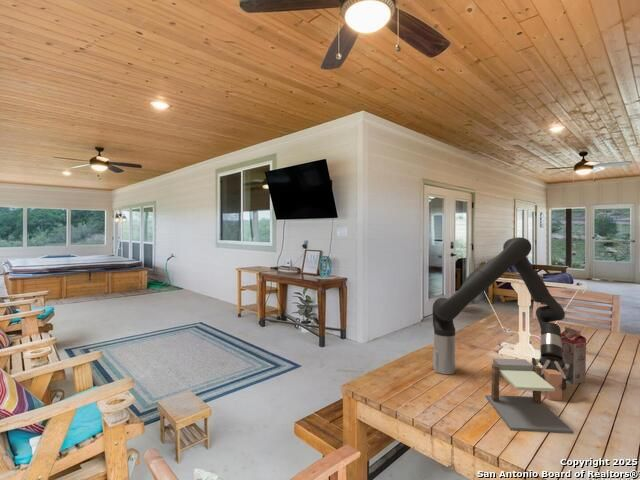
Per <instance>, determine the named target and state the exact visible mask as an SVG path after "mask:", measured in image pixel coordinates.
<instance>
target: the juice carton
mask: <svg viewBox="0 0 640 480" xmlns="http://www.w3.org/2000/svg"><path fill="white" fill-rule="evenodd" d="M561 341H562V350H563V361H564V363H565V364H569V365H570V364H572V365H573V373H572V379H571V381H567V382H569V383H571V384H581V383H586V369H587V367H586V366H587V361H586V360H587V338H586V337H584V336H583V335H581V331H580V330H577V329H573V328H570V327H566V326H564V331H562V332H561ZM562 370H563V373H564V374H565V376H568V371H569V370H567V369H566V367H564V368H562Z"/></svg>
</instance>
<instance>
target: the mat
mask: <svg viewBox="0 0 640 480" xmlns="http://www.w3.org/2000/svg"><path fill="white" fill-rule="evenodd" d="M484 397H485V398H486V399H487V401H488V403H489V404H490V405H491V406H492V407H493V409H494V411H496V413H497V414H498V415H499V417H500V418H501V419H502V421H503V422H504V424H505V425H506V426H507V427H508V428H509V430H510V431H522V432H541V433H542V432H544V433H545V432H546V433H547V432H548V433H565V434H573V433H574V430H573V429H572V428H571V427H570V426H569V425H568V424H567V423H566V422H565V421H563V420H562V419H561V418H560V417H559V416H558V415H557V414H556V413H555V412H554V411H553V410H552V409H551V408H550V407H549V406H547V405H546V404H545V403H544V402H543V401H542V400H541V404H536V403H535V402H534V401H533V396H525V395H524V396H522V395H501V394H499V402H494V401H493V400H492V399H491V394H485V396H484Z"/></svg>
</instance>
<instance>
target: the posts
mask: <svg viewBox="0 0 640 480" xmlns="http://www.w3.org/2000/svg"><path fill="white" fill-rule="evenodd" d="M533 371H534V372H535V373H536V374H538V375H539V376H540V377H541V373H542V367H540V366H539V365H536V366H533ZM490 393H491V394H490V395H491V399H492V400H493V401H494V402H499V395H500V378H499V366H498V365H495V364H493V363H492V364H491V392H490ZM532 397H533V401H534V402H535V403H536V404H541V401H542V391H532Z"/></svg>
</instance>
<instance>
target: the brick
mask: <svg viewBox="0 0 640 480" xmlns="http://www.w3.org/2000/svg"><path fill="white" fill-rule="evenodd" d="M543 372H544V373H543V379H544V380H545V381H546V382H547V383H549V384H550V385H551V386H552V387H554V388H555V391H542V395H543V396H544V397H546V398H547V399H548V400H549V401H563V390H562V374H561V373H560V372H558V371H557V370H552V369H543Z"/></svg>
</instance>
